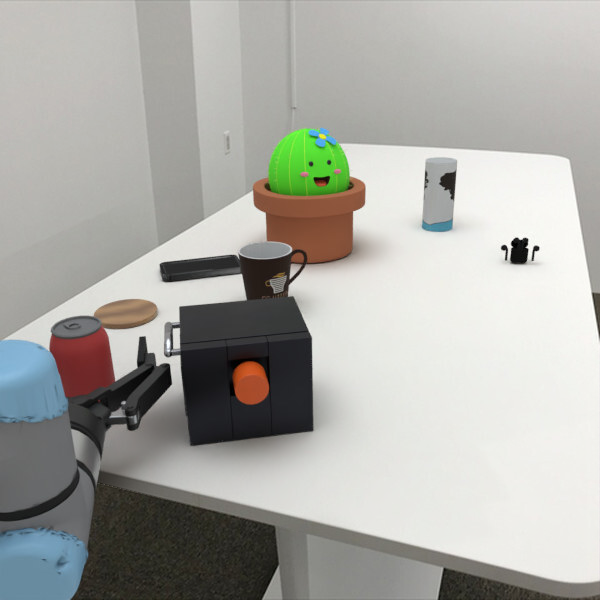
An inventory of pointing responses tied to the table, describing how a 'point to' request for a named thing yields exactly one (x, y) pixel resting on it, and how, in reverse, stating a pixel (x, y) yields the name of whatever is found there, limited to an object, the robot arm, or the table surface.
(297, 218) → the potted cactus
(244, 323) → the black drawer box
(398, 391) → the table surface
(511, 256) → the wireless earbuds
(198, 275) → the phone
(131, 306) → the wooden coaster
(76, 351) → the beer can
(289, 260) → the coffee mug
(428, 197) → the white patterned cylinder
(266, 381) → the button
